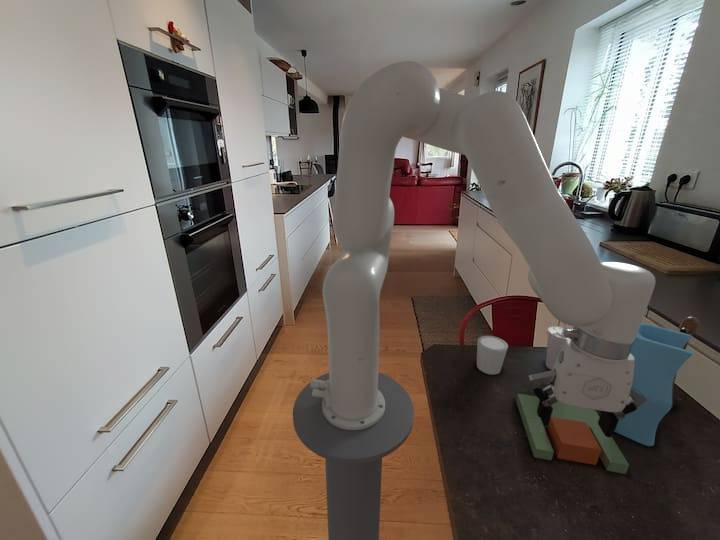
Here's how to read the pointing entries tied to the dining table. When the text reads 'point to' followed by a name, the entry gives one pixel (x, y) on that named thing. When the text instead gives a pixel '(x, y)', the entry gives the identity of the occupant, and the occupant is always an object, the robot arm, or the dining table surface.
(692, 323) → the wooden tabletop sculpture
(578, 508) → the dining table surface
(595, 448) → the orange block
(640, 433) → the vase
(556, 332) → the smoothie
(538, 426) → the green flat bent piece
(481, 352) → the shot glass
